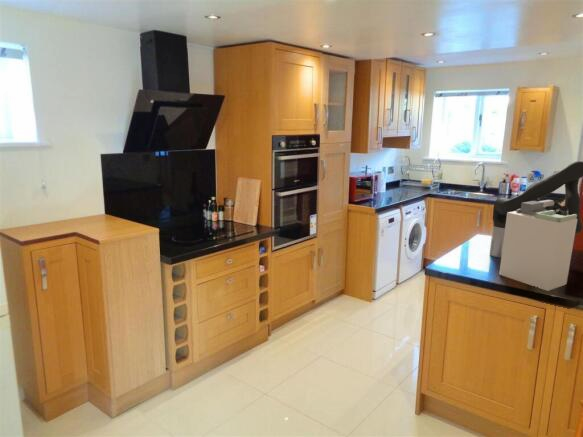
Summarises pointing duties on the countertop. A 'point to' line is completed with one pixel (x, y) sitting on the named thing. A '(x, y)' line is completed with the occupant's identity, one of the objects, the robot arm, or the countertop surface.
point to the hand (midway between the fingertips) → (546, 201)
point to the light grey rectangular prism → (534, 206)
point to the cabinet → (538, 248)
